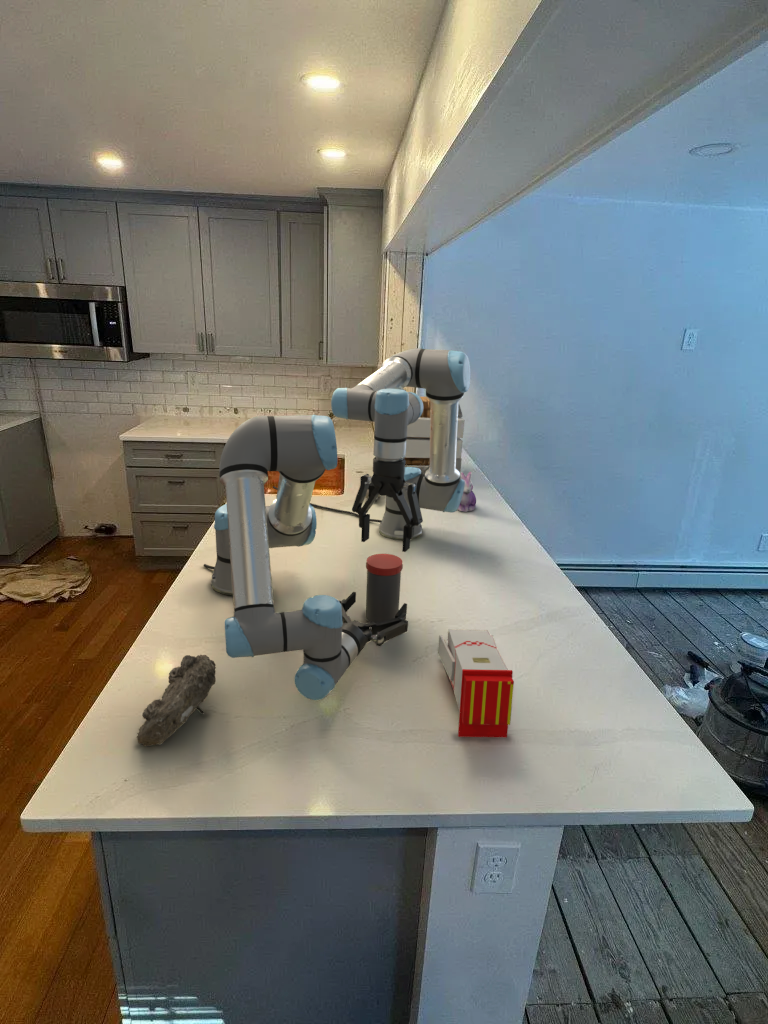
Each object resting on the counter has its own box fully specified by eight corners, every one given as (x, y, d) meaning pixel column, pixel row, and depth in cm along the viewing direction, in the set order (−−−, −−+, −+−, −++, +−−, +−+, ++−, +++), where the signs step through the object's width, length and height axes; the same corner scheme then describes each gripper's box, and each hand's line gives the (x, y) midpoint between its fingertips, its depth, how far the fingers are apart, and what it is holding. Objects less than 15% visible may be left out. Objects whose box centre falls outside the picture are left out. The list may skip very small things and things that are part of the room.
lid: (408, 565, 143) (408, 558, 143) (392, 579, 135) (393, 572, 135) (376, 557, 147) (376, 550, 146) (359, 570, 139) (359, 563, 139)
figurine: (463, 513, 222) (466, 477, 217) (448, 505, 231) (451, 470, 225) (482, 510, 226) (486, 474, 221) (467, 503, 235) (471, 468, 230)
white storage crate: (382, 463, 289) (386, 382, 275) (445, 464, 293) (451, 384, 279) (390, 482, 257) (394, 392, 243) (460, 483, 261) (468, 394, 247)
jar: (403, 613, 148) (407, 560, 143) (389, 628, 141) (392, 572, 135) (374, 605, 151) (377, 552, 146) (359, 619, 144) (361, 564, 139)
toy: (488, 613, 130) (523, 677, 101) (484, 667, 133) (517, 744, 104) (435, 612, 130) (455, 676, 101) (432, 666, 133) (451, 743, 103)
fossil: (167, 656, 118) (217, 624, 113) (199, 686, 121) (249, 656, 116) (112, 740, 99) (170, 705, 94) (152, 773, 102) (210, 741, 97)
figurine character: (380, 506, 230) (380, 491, 243) (381, 489, 227) (381, 475, 240) (364, 506, 230) (364, 491, 243) (364, 489, 226) (365, 474, 240)
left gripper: (292, 647, 127) (334, 605, 146) (396, 675, 119) (426, 627, 138) (292, 618, 125) (334, 578, 144) (398, 644, 117) (428, 599, 135)
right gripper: (441, 461, 130) (434, 549, 137) (354, 447, 140) (352, 530, 147) (428, 468, 124) (422, 560, 131) (338, 453, 133) (337, 540, 141)
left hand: (379, 602), depth 141 cm, fingers open, 13 cm apart
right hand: (385, 544), depth 139 cm, fingers open, 10 cm apart
